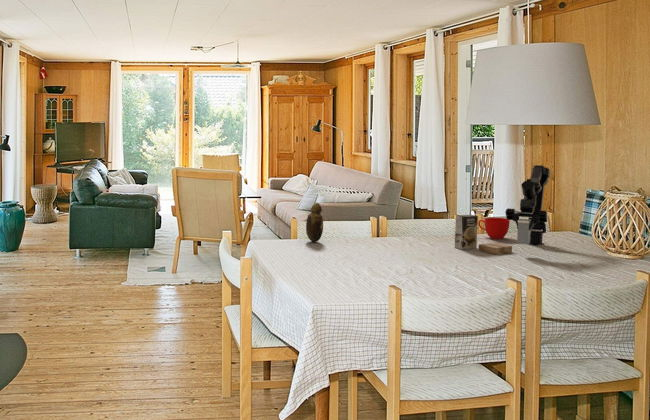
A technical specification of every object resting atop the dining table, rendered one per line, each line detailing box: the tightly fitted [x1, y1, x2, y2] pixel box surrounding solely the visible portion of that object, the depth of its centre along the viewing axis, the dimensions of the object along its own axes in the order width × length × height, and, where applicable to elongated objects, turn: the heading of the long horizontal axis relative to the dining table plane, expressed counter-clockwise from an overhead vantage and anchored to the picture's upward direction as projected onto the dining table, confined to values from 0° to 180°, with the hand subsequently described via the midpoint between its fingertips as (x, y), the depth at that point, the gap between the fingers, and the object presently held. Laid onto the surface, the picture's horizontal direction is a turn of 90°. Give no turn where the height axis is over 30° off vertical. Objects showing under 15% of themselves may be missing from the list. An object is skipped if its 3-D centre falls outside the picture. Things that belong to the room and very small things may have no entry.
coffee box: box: [454, 214, 479, 250], centre depth 367 cm, size 9×6×16 cm
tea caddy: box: [516, 218, 531, 245], centre depth 348 cm, size 5×5×11 cm
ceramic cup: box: [477, 217, 511, 240], centre depth 397 cm, size 13×17×10 cm
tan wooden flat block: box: [478, 242, 513, 255], centre depth 359 cm, size 11×11×3 cm
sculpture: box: [305, 202, 324, 243], centre depth 380 cm, size 13×8×20 cm, turn 5°
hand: (523, 229), depth 346 cm, fingers closed on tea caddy, 5 cm apart
